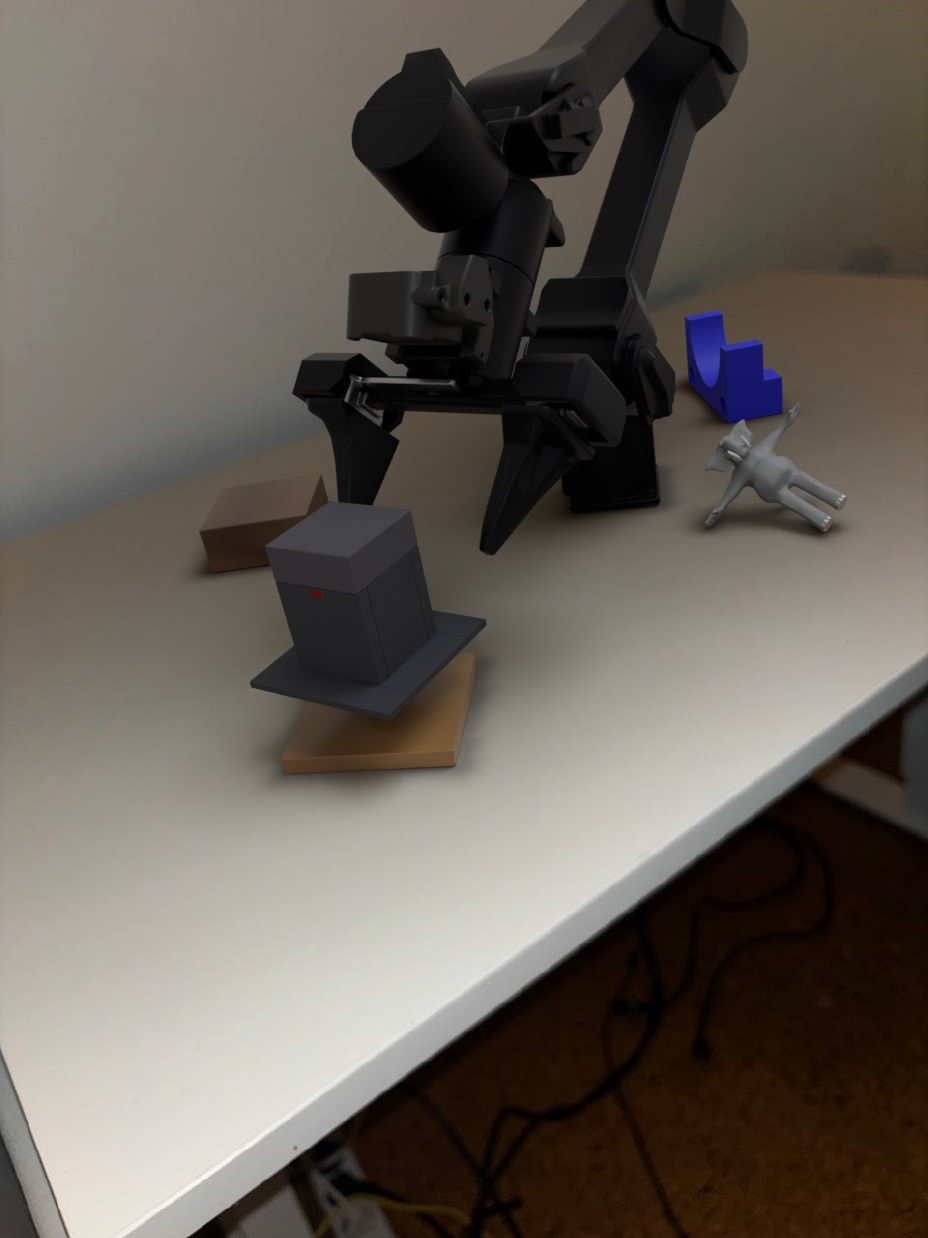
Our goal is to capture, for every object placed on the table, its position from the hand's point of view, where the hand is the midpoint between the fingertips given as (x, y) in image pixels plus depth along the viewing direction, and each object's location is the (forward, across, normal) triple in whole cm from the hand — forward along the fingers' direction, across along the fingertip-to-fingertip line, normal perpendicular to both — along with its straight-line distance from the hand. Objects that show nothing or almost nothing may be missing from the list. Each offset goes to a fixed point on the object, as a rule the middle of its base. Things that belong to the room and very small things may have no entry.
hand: (413, 544), depth 55 cm
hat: (+6, 0, -1) cm, 7 cm away
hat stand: (+9, 0, +2) cm, 9 cm away
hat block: (-2, -23, +13) cm, 26 cm away
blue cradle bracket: (-26, +2, +38) cm, 46 cm away
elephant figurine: (-10, +12, +22) cm, 28 cm away
